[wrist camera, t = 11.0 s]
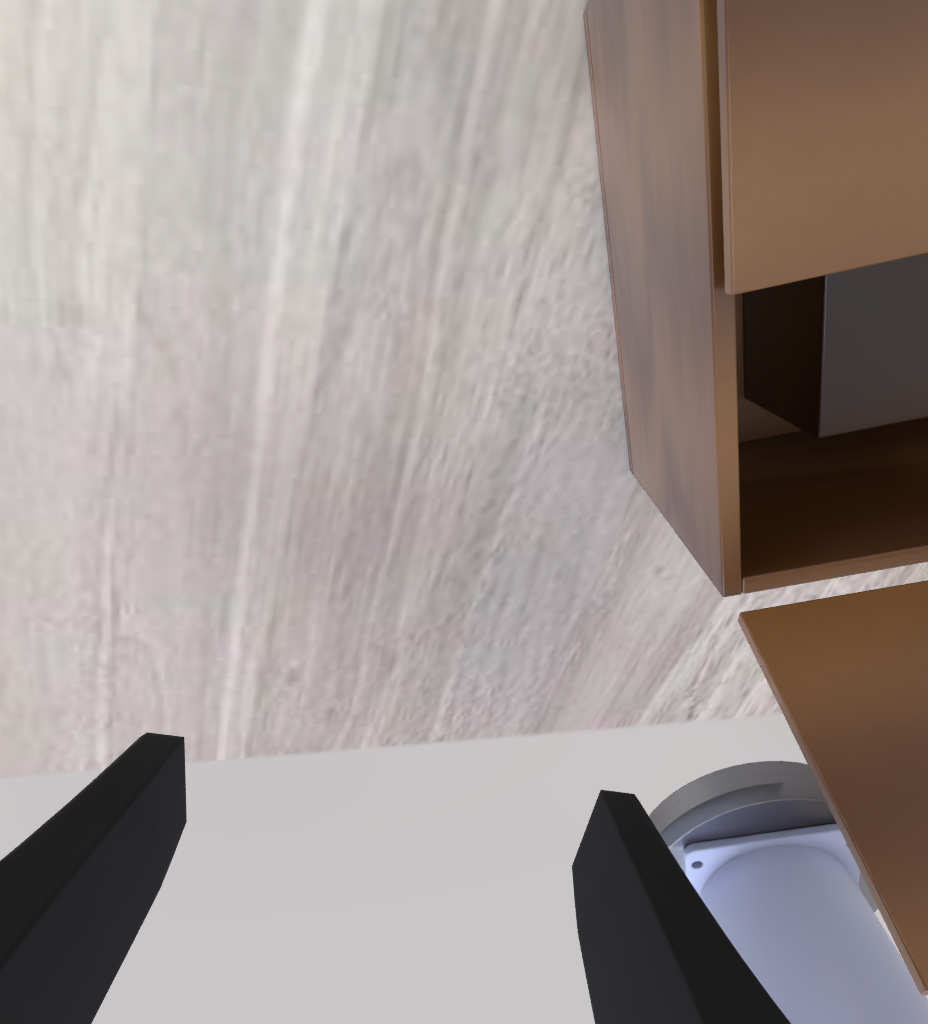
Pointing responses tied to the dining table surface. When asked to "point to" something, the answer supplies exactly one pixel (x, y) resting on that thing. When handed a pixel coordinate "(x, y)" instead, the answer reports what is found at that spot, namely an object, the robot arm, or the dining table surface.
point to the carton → (758, 262)
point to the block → (841, 348)
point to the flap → (863, 734)
